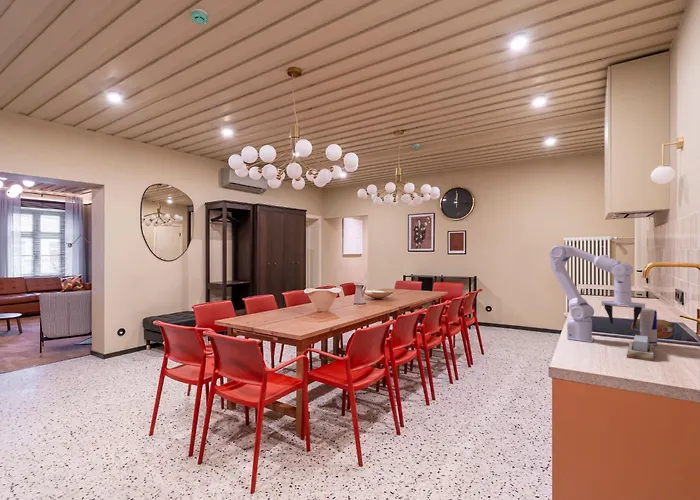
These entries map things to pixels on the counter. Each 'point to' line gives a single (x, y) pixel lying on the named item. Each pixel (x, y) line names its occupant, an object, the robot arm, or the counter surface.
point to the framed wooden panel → (641, 353)
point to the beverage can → (649, 325)
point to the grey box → (641, 343)
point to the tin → (663, 328)
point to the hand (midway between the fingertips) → (623, 324)
